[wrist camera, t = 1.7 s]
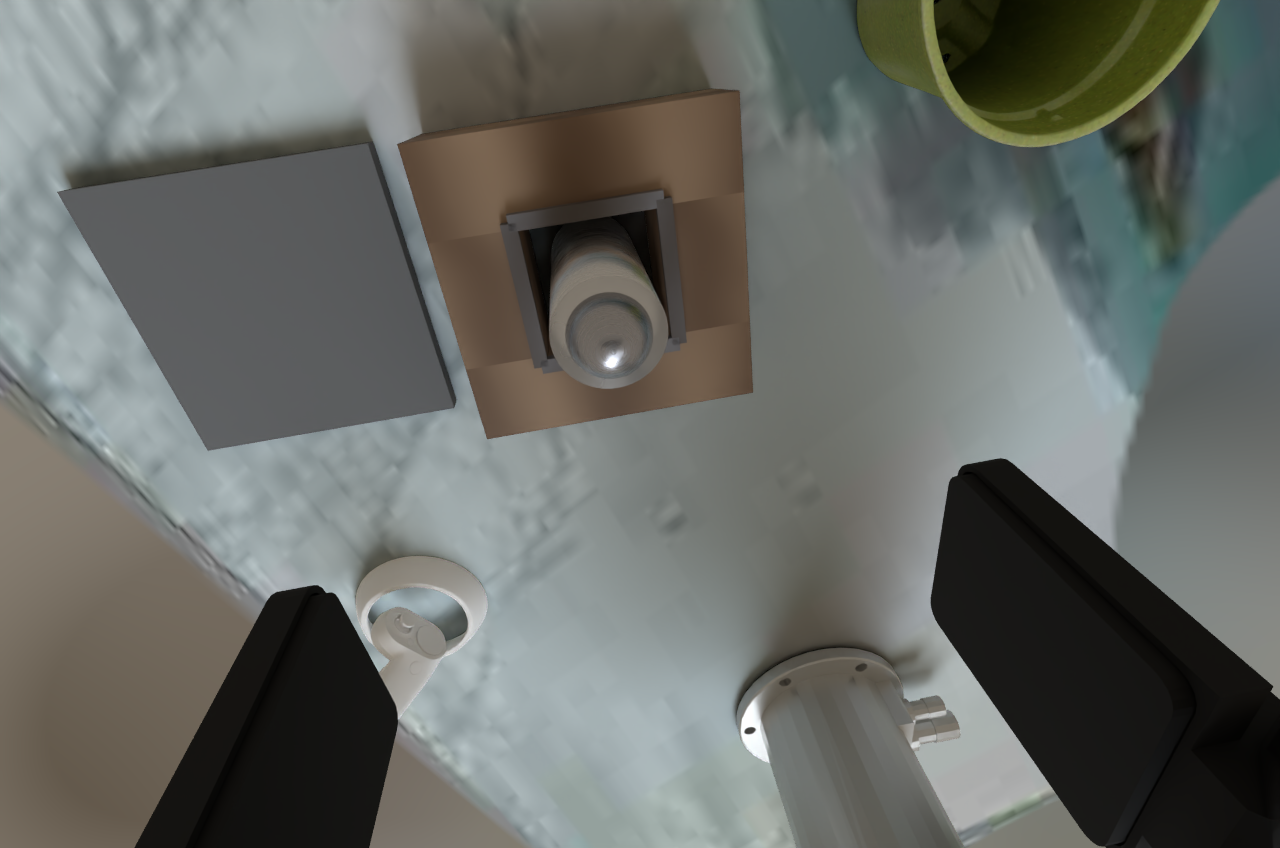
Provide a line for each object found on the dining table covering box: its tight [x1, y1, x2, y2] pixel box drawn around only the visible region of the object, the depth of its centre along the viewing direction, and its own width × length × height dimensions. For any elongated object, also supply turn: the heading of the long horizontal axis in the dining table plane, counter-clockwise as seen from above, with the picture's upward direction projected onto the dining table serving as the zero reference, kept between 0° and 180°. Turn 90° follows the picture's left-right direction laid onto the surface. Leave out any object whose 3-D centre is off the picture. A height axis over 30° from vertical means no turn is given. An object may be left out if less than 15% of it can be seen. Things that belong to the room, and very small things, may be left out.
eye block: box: [397, 89, 753, 439], centre depth 26 cm, size 12×12×5 cm
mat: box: [57, 142, 456, 451], centre depth 27 cm, size 12×12×1 cm
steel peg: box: [549, 217, 668, 389], centre depth 23 cm, size 4×4×11 cm
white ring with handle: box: [355, 556, 488, 720], centre depth 35 cm, size 8×12×7 cm
